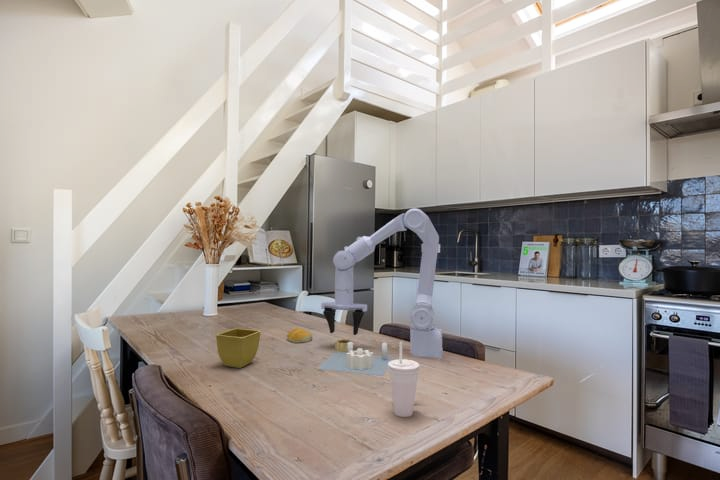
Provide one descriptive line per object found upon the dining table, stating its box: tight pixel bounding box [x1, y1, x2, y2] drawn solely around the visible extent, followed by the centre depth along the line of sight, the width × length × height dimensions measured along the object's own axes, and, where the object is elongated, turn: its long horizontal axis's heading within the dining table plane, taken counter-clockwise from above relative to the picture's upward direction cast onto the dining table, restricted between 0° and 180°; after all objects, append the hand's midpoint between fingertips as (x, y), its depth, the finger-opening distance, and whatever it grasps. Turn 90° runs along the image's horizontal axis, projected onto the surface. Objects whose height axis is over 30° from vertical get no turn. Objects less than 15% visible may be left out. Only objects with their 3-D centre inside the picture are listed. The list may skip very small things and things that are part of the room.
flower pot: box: [215, 327, 261, 369], centre depth 104 cm, size 9×9×9 cm
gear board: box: [315, 341, 396, 377], centre depth 102 cm, size 18×16×6 cm
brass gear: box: [334, 338, 354, 352], centre depth 116 cm, size 6×6×3 cm
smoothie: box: [387, 341, 421, 418], centre depth 74 cm, size 6×6×14 cm
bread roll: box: [286, 327, 313, 344], centre depth 131 cm, size 8×9×4 cm
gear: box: [346, 349, 374, 370], centre depth 99 cm, size 7×7×3 cm
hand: (343, 333), depth 116 cm, fingers open, 7 cm apart
